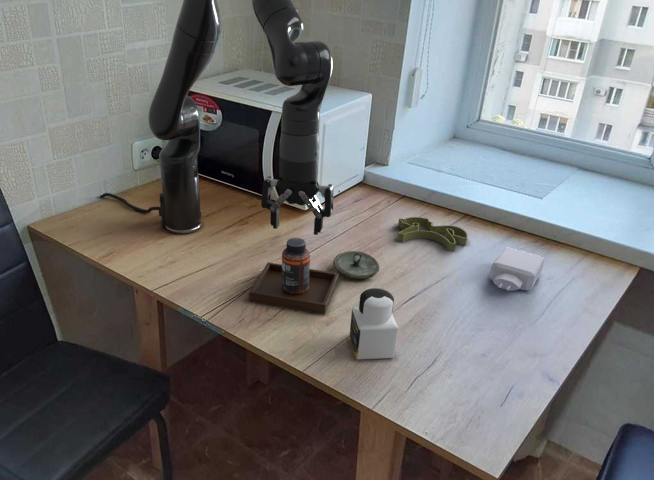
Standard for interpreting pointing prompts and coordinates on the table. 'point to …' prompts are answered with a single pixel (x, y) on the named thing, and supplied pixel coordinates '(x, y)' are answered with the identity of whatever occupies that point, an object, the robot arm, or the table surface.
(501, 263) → the charger
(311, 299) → the tray
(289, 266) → the supplement bottle
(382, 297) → the medicine bottle
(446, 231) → the cookie cutter
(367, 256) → the antique brass shank button
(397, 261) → the table surface
